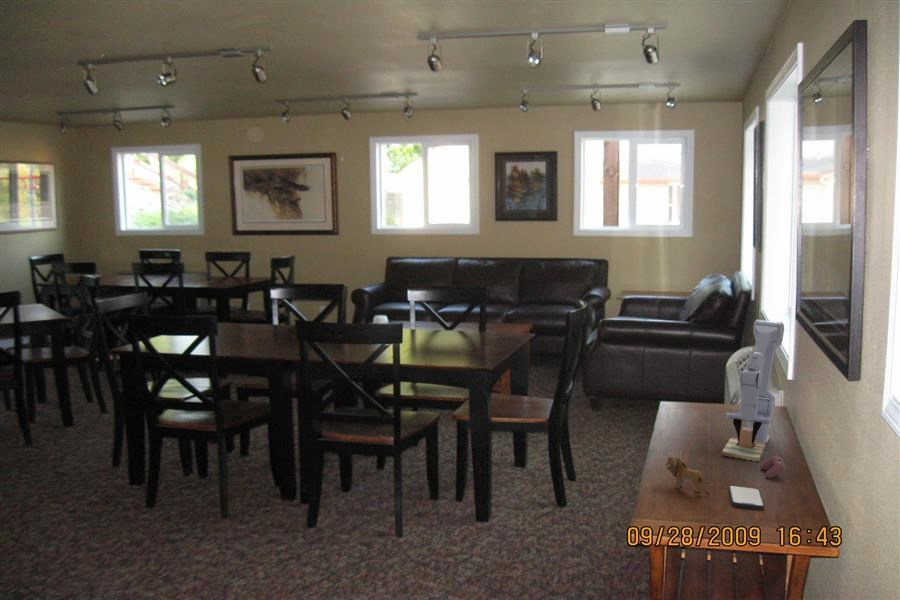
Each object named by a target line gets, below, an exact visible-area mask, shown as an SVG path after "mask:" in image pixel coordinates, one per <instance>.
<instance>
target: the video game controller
mask: <svg viewBox="0 0 900 600" xmlns="http://www.w3.org/2000/svg"><path fill="white" fill-rule="evenodd" d="M785 466H786V465H785V463H784V460H783V458H782V457H780V456H776V455H773V456H771V457H770V458H769V459H767V460H766V461H763V462H762V463H761V464H760V469H761V470H762V469H764V470H763V471H766V470H767V471H766V472H765V474H764V476H765V478H766V477H768V478H767V479H773V478H776V477H777V476H778V475H780V474H782V473H783V472H785ZM775 476H776V477H775Z"/></svg>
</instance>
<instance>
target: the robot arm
mask: <svg viewBox="0 0 900 600" xmlns="http://www.w3.org/2000/svg"><path fill="white" fill-rule="evenodd" d="M752 327H753V328H752V333H753V336H754V337H753V338H754V339H755V345H754V351H753V352H752V353H750V354H749V355H748V359H747V362H746V365H745V367H744V370H741V372H740V375H739V387H740V388H739V389H740V391H741V392H740V401H739V402H740V405H739V413H738V412H736V413H735V412H726V414H725V419H726V420H732V423H733V426H734V429H735V431H736V438H737V439H738V441H739V440H740V429H741V428H742V422H747V425H746V428H751V429H753V436H752V443H754V441H756V442H762V443H766V444H767V443H768V441H769V439H770V435H769V434H768V433H769V432H768V431H769V425H771V418H770V417H772V416H773V415H774V414H775V406H776V405H775V404H776V397H775V395H774V394H773V393H772V392H770V390H769V389H770V382H771V377H772V370H773V363H774V359H775V358H774V357H775V352H776V349H777V347H779V346H780V347H781V346H782V343H783V340H784V333H785V324H784V322H782V321H772V320H764V319H763V320H762V319H756V320H755V321H754V322H753V326H752Z"/></svg>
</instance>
